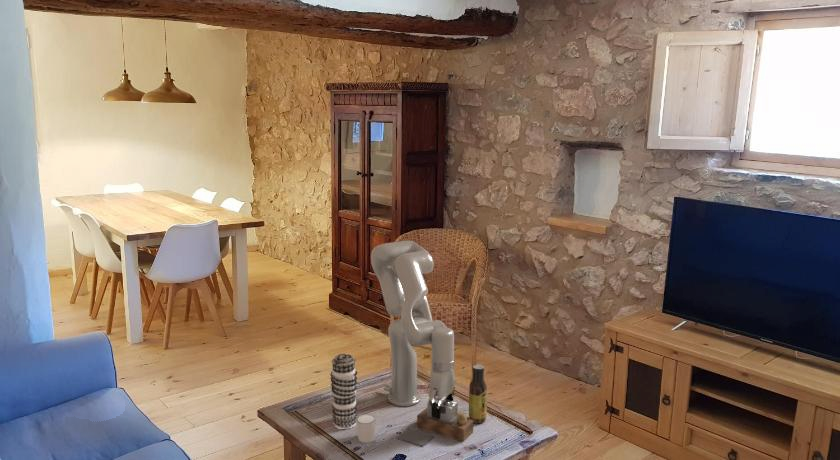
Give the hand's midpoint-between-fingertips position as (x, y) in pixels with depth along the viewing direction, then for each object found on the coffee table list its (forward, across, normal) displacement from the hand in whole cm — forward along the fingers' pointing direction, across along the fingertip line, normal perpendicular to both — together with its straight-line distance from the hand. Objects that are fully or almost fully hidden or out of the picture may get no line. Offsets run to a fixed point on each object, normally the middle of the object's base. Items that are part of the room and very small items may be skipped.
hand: (442, 411), depth 215 cm
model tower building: (+7, +14, -31) cm, 35 cm away
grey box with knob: (+2, 0, 0) cm, 2 cm away
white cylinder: (+7, +18, -19) cm, 27 cm away
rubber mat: (+6, +10, -5) cm, 13 cm away
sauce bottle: (+7, -12, +7) cm, 16 cm away
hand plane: (+6, 0, +1) cm, 7 cm away
